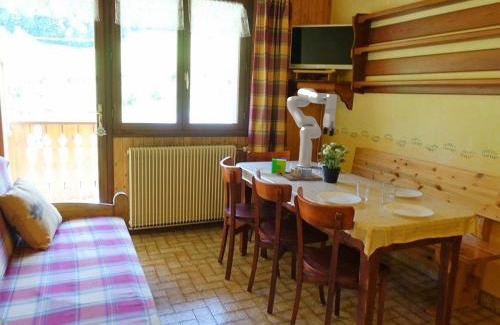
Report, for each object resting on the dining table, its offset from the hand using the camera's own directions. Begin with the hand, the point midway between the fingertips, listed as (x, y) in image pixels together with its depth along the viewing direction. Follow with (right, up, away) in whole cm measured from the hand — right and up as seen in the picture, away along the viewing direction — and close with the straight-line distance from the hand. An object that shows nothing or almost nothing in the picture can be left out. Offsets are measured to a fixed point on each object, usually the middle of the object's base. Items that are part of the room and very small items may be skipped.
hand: (328, 135), depth 286 cm
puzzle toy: (-36, -27, 0) cm, 45 cm away
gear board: (-21, -31, -14) cm, 40 cm away
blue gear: (-18, -29, -14) cm, 37 cm away
